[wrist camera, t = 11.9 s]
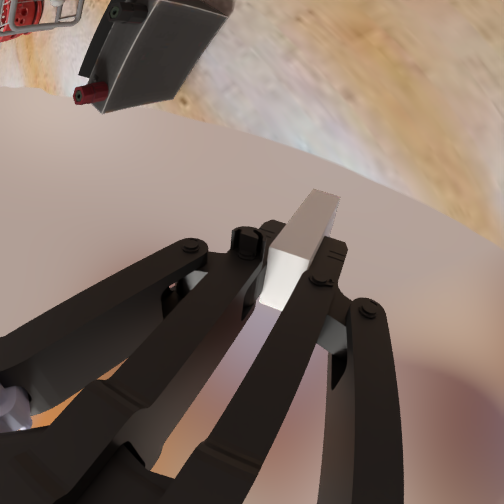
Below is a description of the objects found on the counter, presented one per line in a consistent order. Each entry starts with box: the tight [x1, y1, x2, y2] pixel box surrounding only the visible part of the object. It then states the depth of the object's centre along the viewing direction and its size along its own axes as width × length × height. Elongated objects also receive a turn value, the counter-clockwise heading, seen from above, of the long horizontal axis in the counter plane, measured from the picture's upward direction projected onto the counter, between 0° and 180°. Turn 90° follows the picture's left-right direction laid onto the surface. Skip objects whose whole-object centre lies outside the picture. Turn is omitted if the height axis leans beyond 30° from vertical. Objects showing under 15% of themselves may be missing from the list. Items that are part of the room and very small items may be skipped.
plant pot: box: [0, 0, 42, 42], centre depth 40 cm, size 13×13×12 cm
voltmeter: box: [73, 0, 228, 114], centre depth 31 cm, size 16×16×20 cm
